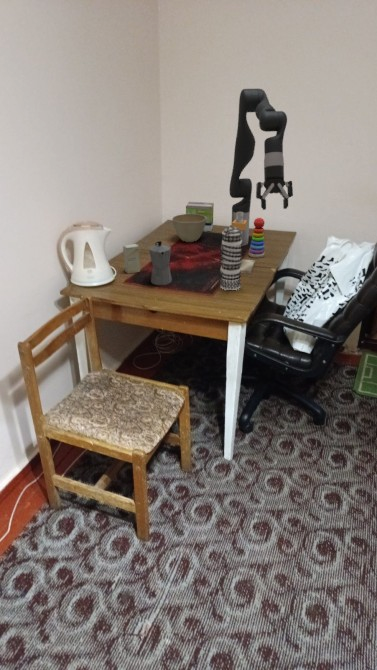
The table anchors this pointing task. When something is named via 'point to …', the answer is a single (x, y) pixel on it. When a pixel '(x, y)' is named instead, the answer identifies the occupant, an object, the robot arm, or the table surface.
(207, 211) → the tea box
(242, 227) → the collar
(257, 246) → the stacking toy
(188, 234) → the beige bowl
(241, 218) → the post stand
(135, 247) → the skincare box
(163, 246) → the coffeepot
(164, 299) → the table surface
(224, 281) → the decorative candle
